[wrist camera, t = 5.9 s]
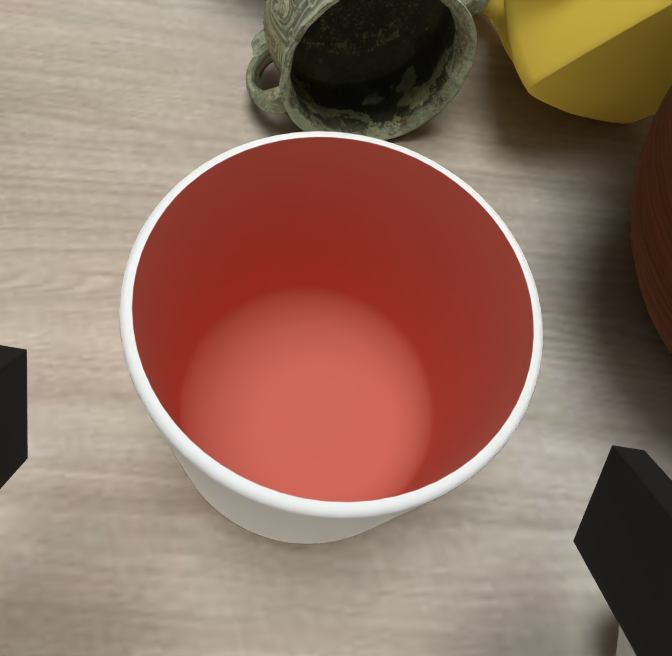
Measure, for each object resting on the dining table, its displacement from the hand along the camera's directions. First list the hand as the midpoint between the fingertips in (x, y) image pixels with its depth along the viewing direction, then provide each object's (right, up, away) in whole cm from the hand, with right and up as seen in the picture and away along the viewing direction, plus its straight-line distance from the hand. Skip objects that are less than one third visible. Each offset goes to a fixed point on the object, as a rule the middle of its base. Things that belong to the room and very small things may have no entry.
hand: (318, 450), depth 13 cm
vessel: (+1, +19, +14) cm, 24 cm away
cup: (-1, -1, +10) cm, 10 cm away
